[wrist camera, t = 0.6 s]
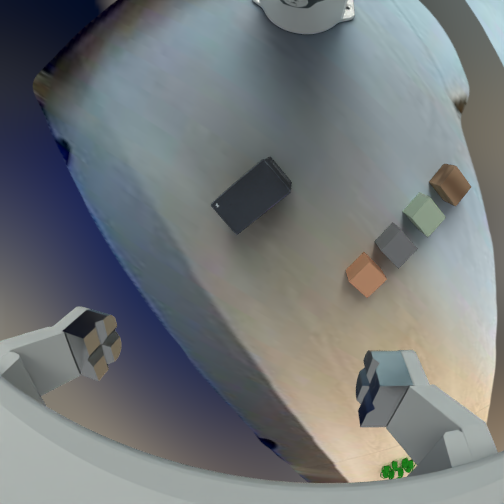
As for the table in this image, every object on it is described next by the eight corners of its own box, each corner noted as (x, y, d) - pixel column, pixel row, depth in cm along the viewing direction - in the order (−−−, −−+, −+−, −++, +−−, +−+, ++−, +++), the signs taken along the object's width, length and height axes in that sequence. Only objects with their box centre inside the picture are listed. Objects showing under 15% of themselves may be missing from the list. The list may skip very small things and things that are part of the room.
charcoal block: (392, 222, 48) (400, 229, 43) (408, 239, 48) (417, 248, 44) (374, 241, 50) (381, 250, 45) (390, 258, 50) (398, 268, 46)
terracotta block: (363, 251, 51) (369, 261, 46) (380, 268, 51) (387, 279, 47) (345, 270, 53) (349, 281, 48) (362, 285, 53) (367, 298, 49)
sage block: (419, 192, 45) (430, 197, 40) (434, 210, 46) (445, 217, 41) (402, 211, 47) (411, 218, 42) (418, 229, 47) (428, 237, 43)
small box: (248, 220, 52) (236, 238, 43) (225, 193, 51) (207, 204, 42) (294, 184, 49) (292, 193, 39) (269, 155, 48) (262, 157, 38)
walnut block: (443, 163, 42) (456, 166, 38) (458, 182, 43) (471, 186, 38) (428, 181, 44) (440, 185, 39) (443, 200, 45) (455, 206, 40)
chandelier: (403, 471, 79) (404, 484, 72) (372, 473, 80) (373, 487, 74) (422, 454, 73) (425, 468, 67) (390, 457, 74) (392, 471, 68)
